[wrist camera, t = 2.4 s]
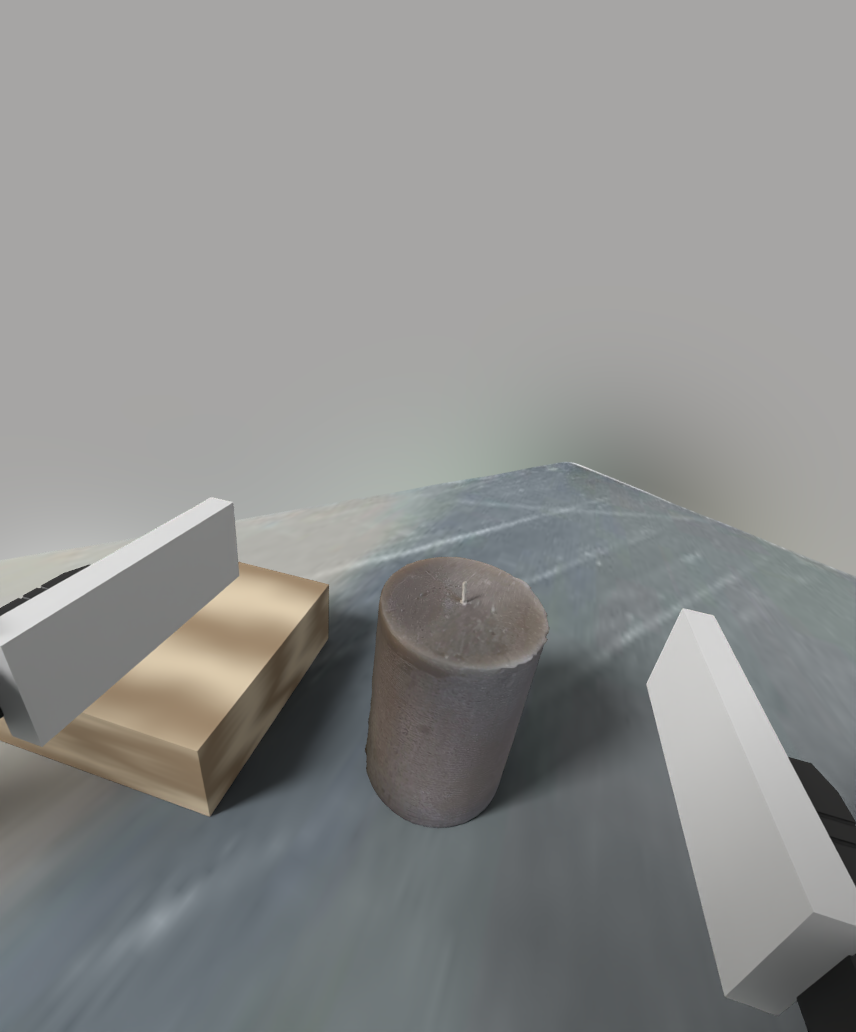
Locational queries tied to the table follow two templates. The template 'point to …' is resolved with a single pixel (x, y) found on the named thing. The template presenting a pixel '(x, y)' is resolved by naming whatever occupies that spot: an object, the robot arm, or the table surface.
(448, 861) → the table surface
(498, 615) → the pillar candle
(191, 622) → the oak block
